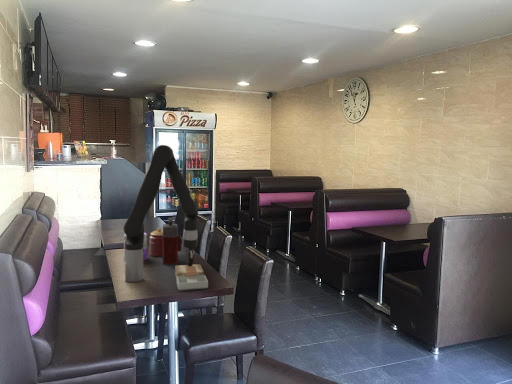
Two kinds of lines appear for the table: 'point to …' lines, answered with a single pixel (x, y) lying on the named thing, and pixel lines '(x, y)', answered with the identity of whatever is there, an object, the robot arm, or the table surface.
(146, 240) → the candy box
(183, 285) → the grey tray
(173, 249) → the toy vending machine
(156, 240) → the canister
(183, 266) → the birch board
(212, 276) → the table surface
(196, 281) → the white tile
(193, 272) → the terracotta tile
